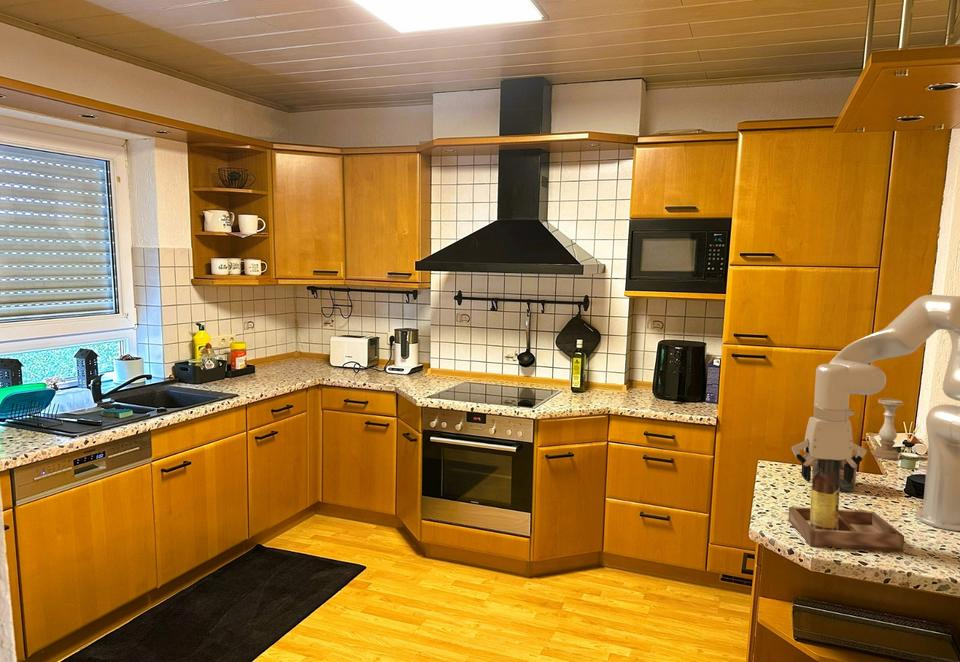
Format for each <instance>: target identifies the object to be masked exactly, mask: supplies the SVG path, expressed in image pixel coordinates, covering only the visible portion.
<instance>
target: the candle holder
mask: <svg viewBox="0 0 960 662" xmlns="http://www.w3.org/2000/svg"><path fill="white" fill-rule="evenodd" d="M877 402H878V403H879V404H880V405H881V404H882V405H883V408H884V409H885V411H884V413H883V416H884V422H883V425H882V426H881V428H880V430H879V432H878V436H879V437H880V439H879V443H880V445H881V446H880V447H876V448H875V449H873V450H871V455H873V456H874V457H876V458H880V459H884V460H885V459H886V460H899V459H898V455H899V454H900V453H899V452H898V450H895V449H893V447H894V446H895V445H896V442H895V440H896V439H897V438H898V437H897V436H898V433H897V430H896V428H895V425H894V424H895V423H894V422H895V417H897V415H896V413H895V410H896V409H898V407H899V406H903V405H904V401H902V400H899V399H896V398H894V399H893V398H878V400H877Z"/></svg>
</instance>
